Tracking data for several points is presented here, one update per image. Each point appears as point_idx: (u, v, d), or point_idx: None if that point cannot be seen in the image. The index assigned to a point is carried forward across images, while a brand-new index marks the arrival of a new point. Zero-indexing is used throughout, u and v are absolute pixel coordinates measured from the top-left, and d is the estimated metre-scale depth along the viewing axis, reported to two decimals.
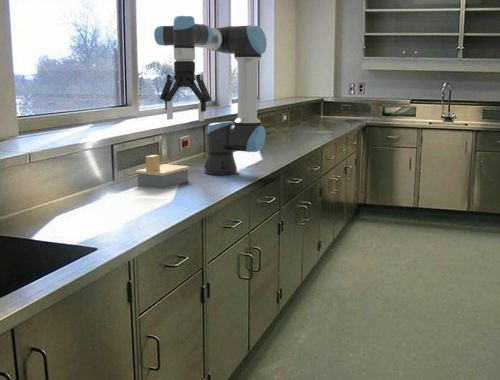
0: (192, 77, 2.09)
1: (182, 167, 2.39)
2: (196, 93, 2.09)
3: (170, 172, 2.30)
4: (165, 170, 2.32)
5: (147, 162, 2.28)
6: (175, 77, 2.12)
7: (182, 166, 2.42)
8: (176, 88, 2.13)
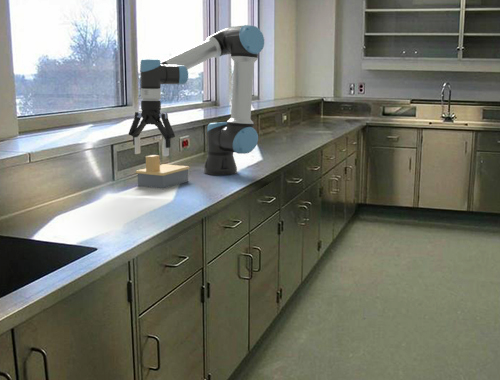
0: (157, 115, 2.23)
1: (182, 167, 2.39)
2: (161, 130, 2.24)
3: (170, 172, 2.30)
4: (165, 170, 2.32)
5: (147, 162, 2.28)
6: (142, 115, 2.26)
7: (182, 166, 2.42)
8: (143, 125, 2.28)
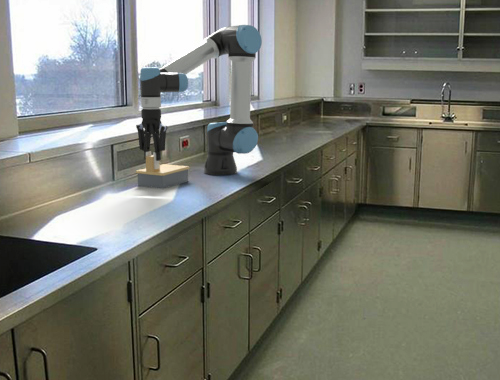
0: (158, 125, 2.24)
1: (182, 167, 2.39)
2: (155, 142, 2.26)
3: (170, 172, 2.30)
4: (165, 170, 2.32)
5: (147, 162, 2.28)
6: (143, 123, 2.27)
7: (182, 166, 2.42)
8: (148, 135, 2.28)
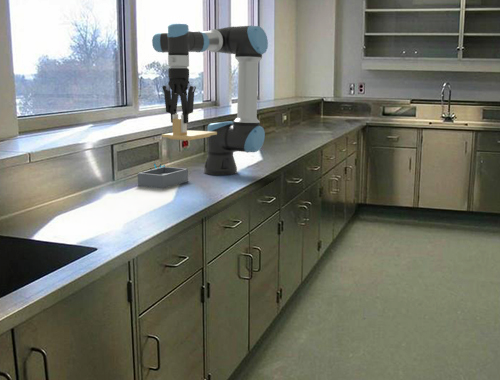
0: (186, 85, 2.12)
1: (210, 132, 2.27)
2: (182, 104, 2.14)
3: (198, 136, 2.18)
4: (192, 134, 2.19)
5: (174, 125, 2.15)
6: (170, 84, 2.15)
7: None
8: (175, 96, 2.15)
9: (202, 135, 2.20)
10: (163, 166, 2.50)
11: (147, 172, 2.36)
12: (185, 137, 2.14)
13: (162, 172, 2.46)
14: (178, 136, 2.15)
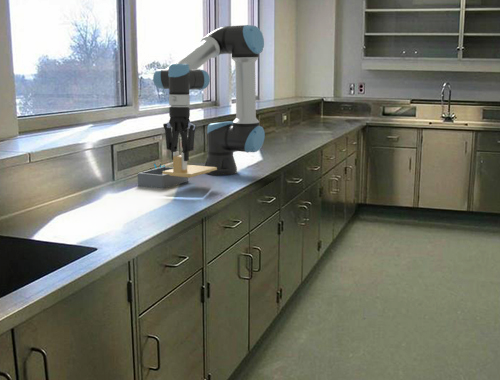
0: (186, 123, 2.15)
1: (210, 168, 2.29)
2: (183, 142, 2.16)
3: (198, 173, 2.20)
4: (193, 171, 2.22)
5: (174, 162, 2.18)
6: (170, 122, 2.18)
7: (209, 167, 2.32)
8: (176, 134, 2.18)
9: (202, 172, 2.23)
10: (163, 166, 2.50)
11: (147, 172, 2.36)
12: (185, 175, 2.17)
13: (162, 172, 2.46)
14: (179, 173, 2.18)
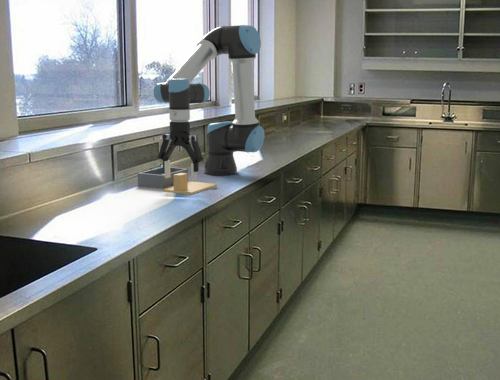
0: (187, 137, 2.16)
1: (210, 185, 2.31)
2: (190, 154, 2.16)
3: (198, 191, 2.22)
4: (193, 189, 2.23)
5: (175, 180, 2.19)
6: (171, 136, 2.19)
7: (209, 184, 2.33)
8: (172, 147, 2.20)
9: (202, 189, 2.24)
10: None
11: (147, 172, 2.36)
12: (186, 193, 2.18)
13: (162, 172, 2.46)
14: (179, 192, 2.19)
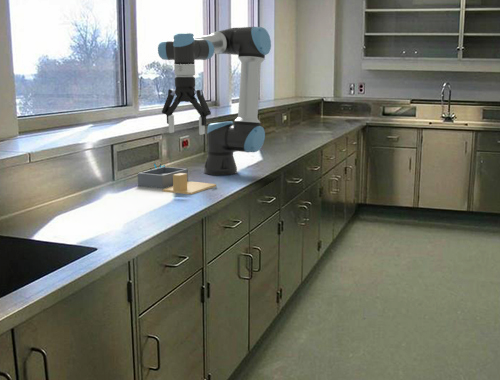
0: (192, 92, 2.15)
1: (209, 185, 2.31)
2: (196, 108, 2.16)
3: (198, 191, 2.22)
4: (193, 189, 2.23)
5: (174, 181, 2.19)
6: (176, 92, 2.18)
7: (209, 184, 2.33)
8: (177, 103, 2.20)
9: (202, 189, 2.24)
10: (163, 166, 2.50)
11: (147, 172, 2.36)
12: (185, 193, 2.18)
13: (162, 172, 2.46)
14: (179, 192, 2.19)
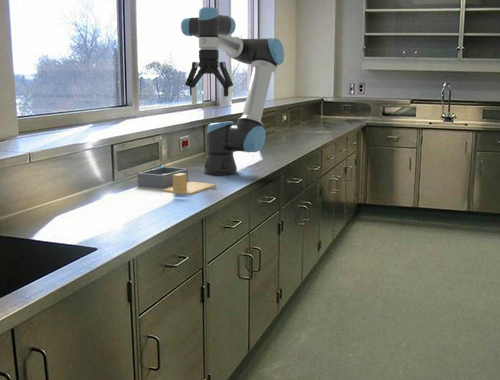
0: (216, 64, 2.25)
1: (209, 185, 2.30)
2: (219, 79, 2.25)
3: (198, 191, 2.21)
4: (192, 189, 2.23)
5: (174, 181, 2.19)
6: (200, 64, 2.28)
7: (209, 184, 2.33)
8: (200, 75, 2.30)
9: (202, 190, 2.24)
10: (163, 166, 2.50)
11: (147, 172, 2.36)
12: (185, 193, 2.18)
13: (162, 172, 2.46)
14: (178, 192, 2.19)
